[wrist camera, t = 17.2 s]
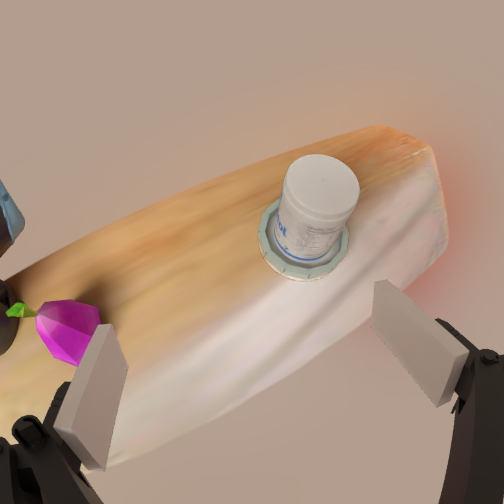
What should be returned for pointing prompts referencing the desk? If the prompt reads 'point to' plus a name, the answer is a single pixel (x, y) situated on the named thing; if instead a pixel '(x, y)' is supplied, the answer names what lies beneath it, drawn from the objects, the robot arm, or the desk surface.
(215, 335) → the desk surface
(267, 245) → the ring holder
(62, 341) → the magenta faceted rounded piece
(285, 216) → the supplement tub
